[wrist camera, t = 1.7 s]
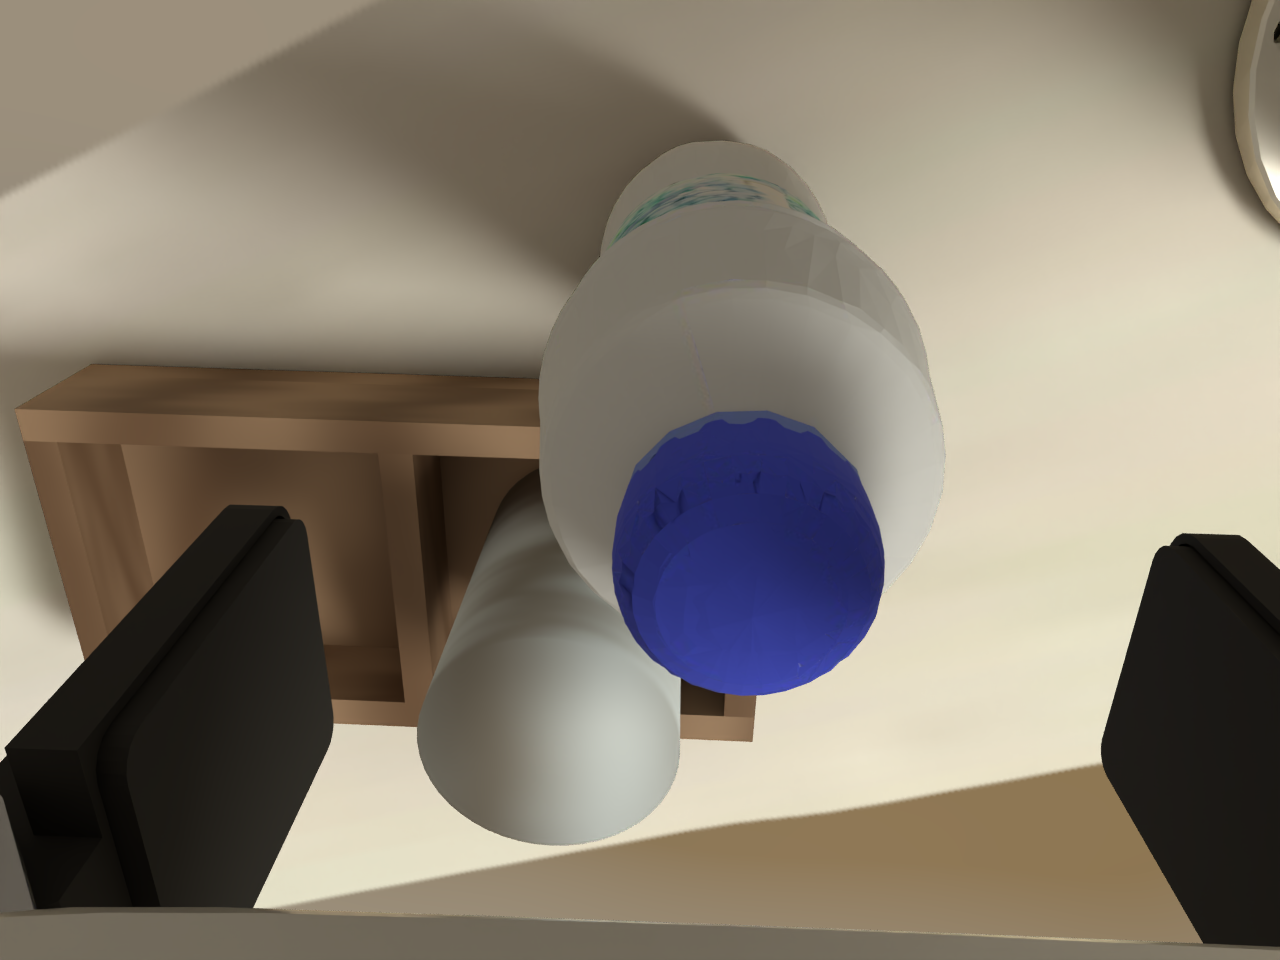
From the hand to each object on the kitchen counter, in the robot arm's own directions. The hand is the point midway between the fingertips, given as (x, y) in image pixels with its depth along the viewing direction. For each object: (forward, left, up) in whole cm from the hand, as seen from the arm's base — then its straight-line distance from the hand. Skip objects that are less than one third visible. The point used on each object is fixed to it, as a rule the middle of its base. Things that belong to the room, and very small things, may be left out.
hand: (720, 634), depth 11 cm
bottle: (0, 0, -21) cm, 21 cm away
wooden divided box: (+9, +10, -20) cm, 24 cm away
